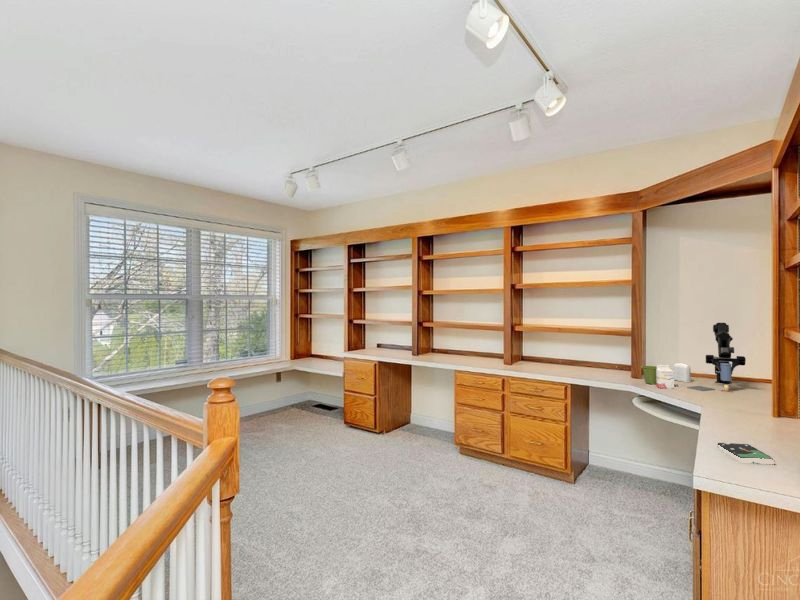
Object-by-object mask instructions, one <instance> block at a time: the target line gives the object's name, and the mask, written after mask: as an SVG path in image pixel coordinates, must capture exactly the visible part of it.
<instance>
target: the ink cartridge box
mask: <svg viewBox="0 0 800 600" xmlns="http://www.w3.org/2000/svg"><path fill="white" fill-rule="evenodd" d="M656 366H657V369H656V380H657V384H656V388H658V389H664V390H665V389H667V390H669V389H670V390H673V389H675V380H674V369H673V370H672V369H671V364H656Z"/></svg>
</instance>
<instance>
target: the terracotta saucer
mask: <svg viewBox="0 0 800 600" xmlns="http://www.w3.org/2000/svg"><path fill="white" fill-rule="evenodd" d="M729 385H730V384H723V387H724V389H721V390H718V392H720V393H727V394H728V393H729V394H733V393H735V391H733V390H729V389H730V388H729V387H730V386H729Z"/></svg>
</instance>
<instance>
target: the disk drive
mask: <svg viewBox="0 0 800 600" xmlns="http://www.w3.org/2000/svg"><path fill="white" fill-rule="evenodd" d="M718 445H720V446H721V447H723V448H724V449H726V450H728V451H729V452H731V453H733V454H734V455H736V456H738V457H740V458H760V459H762V458H764V459H772V460H774V459H773V457H772V456H771V455H768V454H767V453H765V452H763V451H761V450H759V449H758V448H756V447H755V446H753V445H751V444H748V443H736V442H735V443H725V442H717V446H718Z"/></svg>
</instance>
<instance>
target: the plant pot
mask: <svg viewBox="0 0 800 600" xmlns="http://www.w3.org/2000/svg"><path fill="white" fill-rule="evenodd" d="M640 367H641V370H642V372H643V378H644V381H645V384H649V385H657V380H656V369H657V365H641V366H640Z"/></svg>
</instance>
